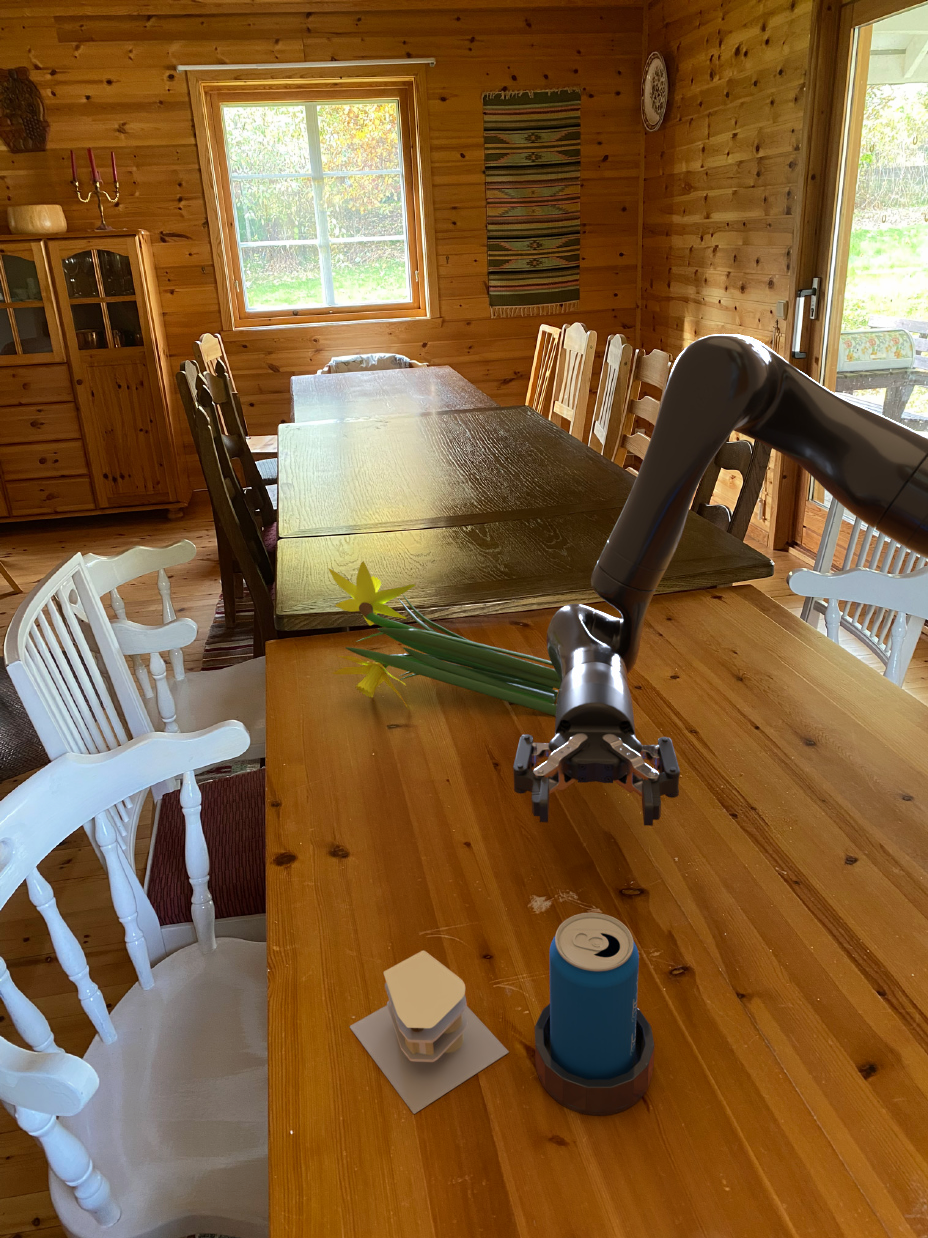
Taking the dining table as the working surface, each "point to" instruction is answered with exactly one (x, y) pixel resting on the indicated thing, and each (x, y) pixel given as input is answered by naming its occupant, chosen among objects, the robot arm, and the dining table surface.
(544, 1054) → the bowl
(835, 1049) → the dining table surface
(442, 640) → the daffodil flowers
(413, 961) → the stacked layers on plate
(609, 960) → the beverage can
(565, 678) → the robot arm
